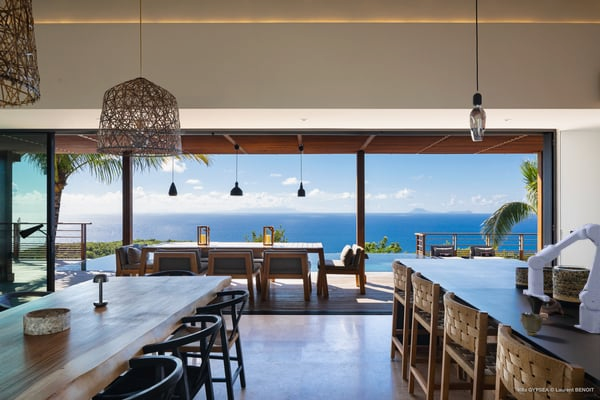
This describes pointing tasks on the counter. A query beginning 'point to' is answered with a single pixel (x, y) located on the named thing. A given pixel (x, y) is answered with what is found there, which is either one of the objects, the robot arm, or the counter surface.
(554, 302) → the pottery mug
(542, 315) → the terracotta button
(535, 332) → the cup
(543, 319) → the button panel
